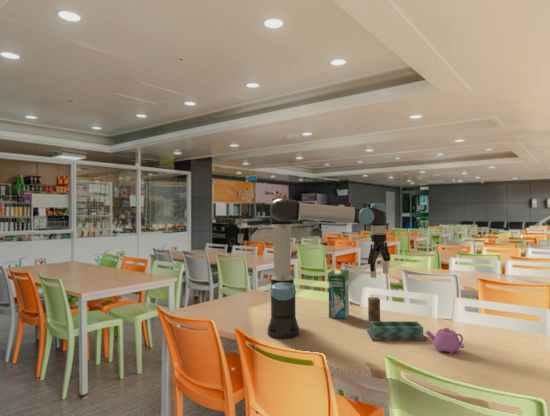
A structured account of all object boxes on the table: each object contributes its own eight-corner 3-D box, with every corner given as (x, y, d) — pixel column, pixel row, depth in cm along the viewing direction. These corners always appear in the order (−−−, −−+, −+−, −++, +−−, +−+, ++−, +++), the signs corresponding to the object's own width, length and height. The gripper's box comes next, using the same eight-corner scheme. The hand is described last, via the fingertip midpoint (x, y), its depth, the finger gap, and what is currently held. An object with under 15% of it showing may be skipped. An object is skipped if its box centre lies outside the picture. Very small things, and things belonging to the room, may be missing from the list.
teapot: (462, 357, 162) (462, 334, 162) (422, 350, 171) (422, 328, 170) (465, 349, 171) (465, 327, 171) (428, 343, 179) (428, 322, 179)
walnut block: (370, 322, 210) (370, 299, 210) (368, 320, 215) (368, 297, 215) (380, 322, 210) (379, 299, 210) (377, 320, 215) (377, 297, 215)
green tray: (372, 340, 183) (372, 328, 183) (367, 332, 195) (367, 320, 195) (426, 340, 182) (426, 328, 182) (418, 332, 194) (418, 320, 194)
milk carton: (328, 317, 221) (328, 271, 221) (332, 313, 229) (332, 268, 229) (345, 319, 217) (345, 272, 217) (348, 314, 226) (348, 269, 226)
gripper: (374, 235, 196) (375, 280, 196) (396, 232, 215) (397, 272, 215) (360, 235, 200) (360, 278, 201) (382, 231, 219) (383, 271, 220)
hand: (379, 275), depth 208 cm, fingers open, 13 cm apart
